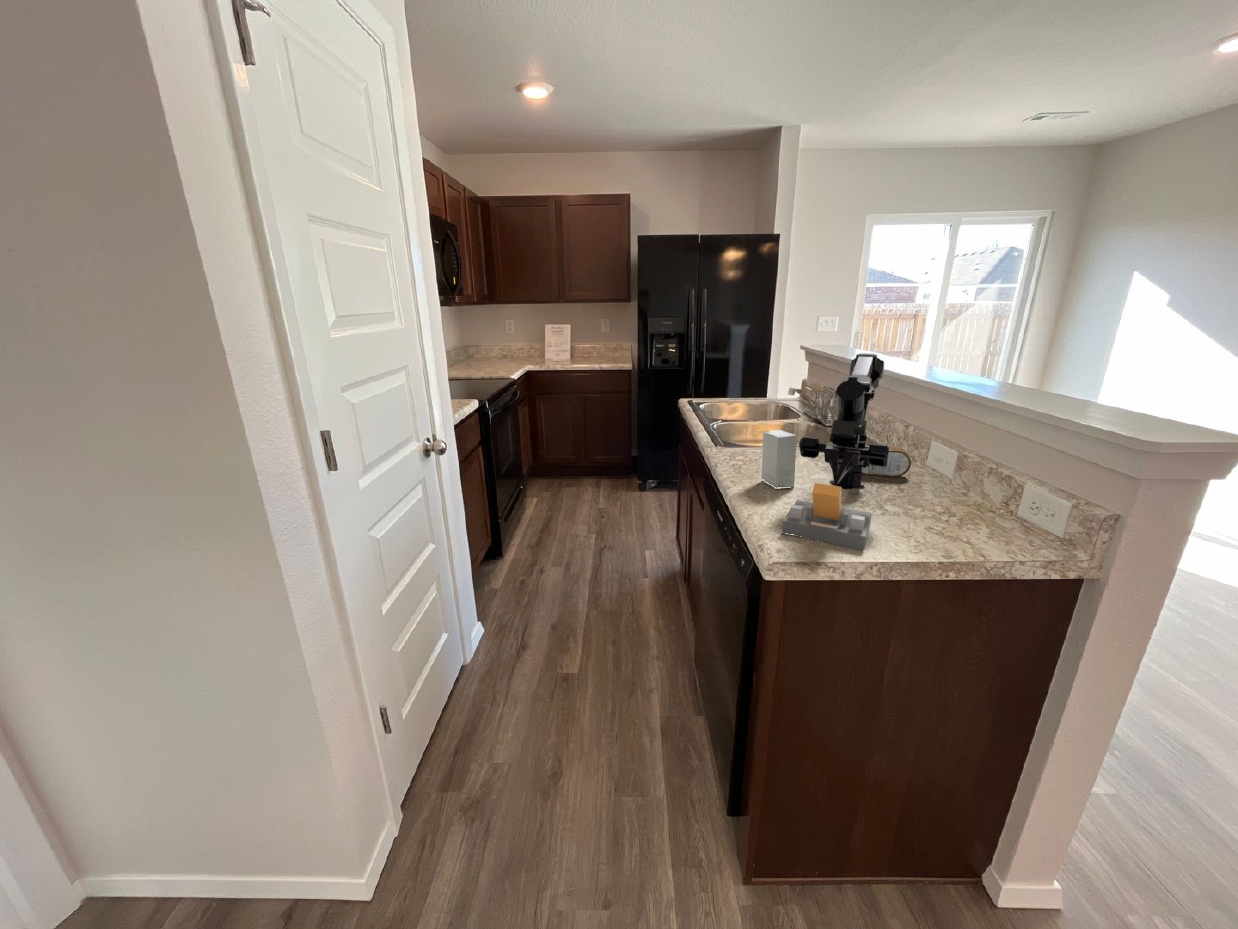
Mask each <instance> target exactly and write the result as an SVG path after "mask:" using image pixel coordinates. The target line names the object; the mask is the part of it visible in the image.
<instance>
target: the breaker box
mask: <svg viewBox="0 0 1238 929" xmlns="http://www.w3.org/2000/svg"><path fill="white" fill-rule="evenodd" d="M872 514H873V512H869V511H863V510H858V509H853V508H852V509H851V508H847V507H841V514H840V518H839V520H834V519H828V518H823V517H817V516H814V509H813V502H810V501H804V500H798V499H796V501H795V502H794V504H791V505H790V508H789V511H788V512H787V514H786V516H785V517H784V519H783V520H782V528H781V533H782V532H783V533H788V534H794V535H797V536H802V537H805V538H804V539H806V538H809V539H808V540H811V539H812V540H811V541H816V540H819V541H818V542H820V541H823V542H822V543H825V542H826V544H831V545H834V546H835V545H836V546H842V547H846V548H851V549H856V550H858V551H859V550H860V551H865V547H866V543H867V539H868V536H869V531H870V528H871V522H872V517H873V515H872Z"/></svg>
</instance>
